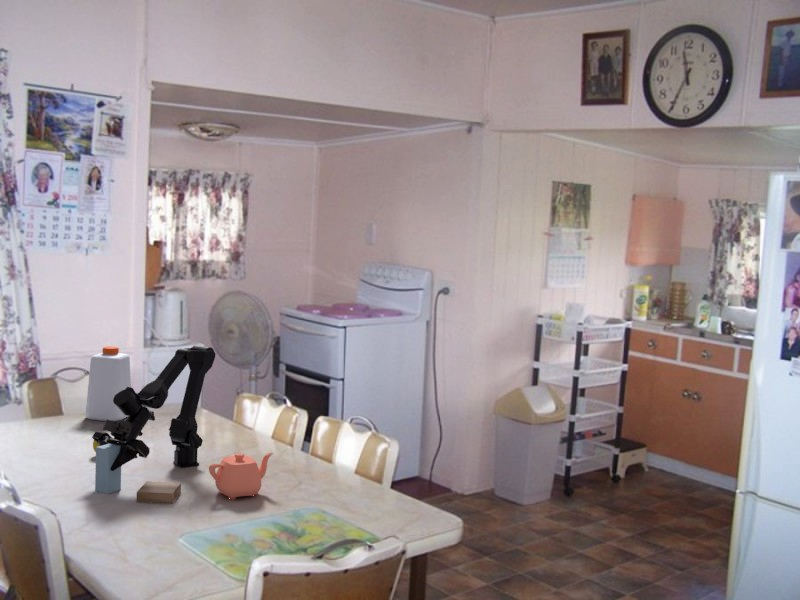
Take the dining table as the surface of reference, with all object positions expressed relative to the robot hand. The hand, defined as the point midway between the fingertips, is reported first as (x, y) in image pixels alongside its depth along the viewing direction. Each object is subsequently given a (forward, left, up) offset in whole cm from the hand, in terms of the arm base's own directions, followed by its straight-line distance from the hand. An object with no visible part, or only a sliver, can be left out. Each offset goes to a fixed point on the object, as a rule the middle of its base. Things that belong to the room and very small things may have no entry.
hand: (104, 468), depth 240 cm
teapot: (-33, +21, -7) cm, 40 cm away
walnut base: (-11, +13, -7) cm, 18 cm away
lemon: (-12, -36, -7) cm, 38 cm away
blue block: (-1, -1, -7) cm, 7 cm away
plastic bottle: (-33, -87, -7) cm, 93 cm away
